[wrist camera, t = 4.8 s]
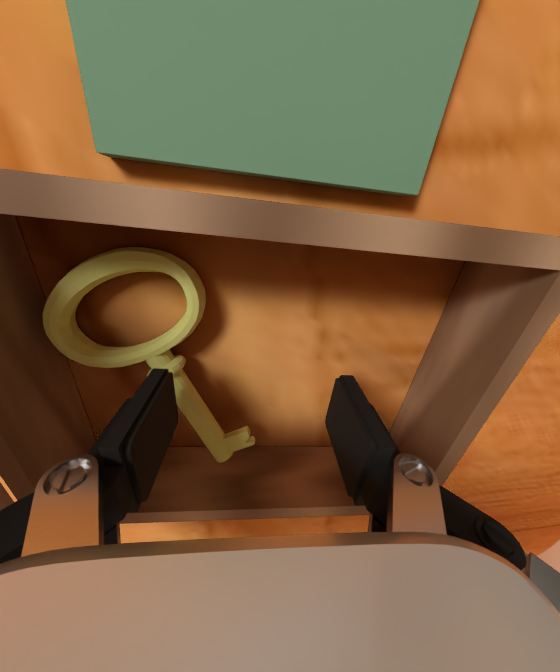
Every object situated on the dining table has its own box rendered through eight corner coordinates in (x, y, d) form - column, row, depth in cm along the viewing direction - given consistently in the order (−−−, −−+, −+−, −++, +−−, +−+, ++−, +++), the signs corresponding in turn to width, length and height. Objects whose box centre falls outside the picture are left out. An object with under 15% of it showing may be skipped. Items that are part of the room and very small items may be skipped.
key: (228, 441, 16) (223, 471, 14) (39, 314, 11) (-7, 333, 9) (312, 381, 14) (320, 407, 12) (131, 202, 9) (98, 198, 8)
